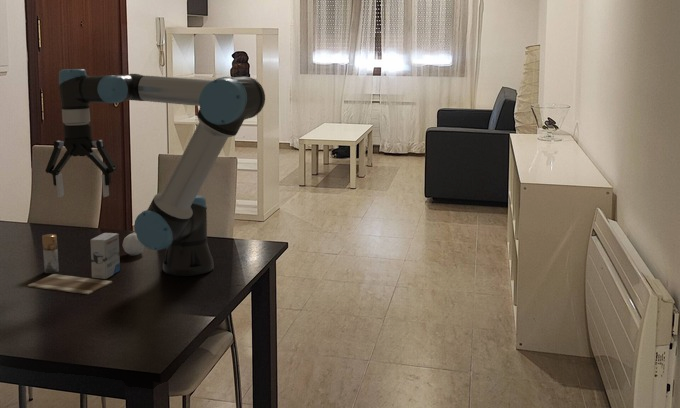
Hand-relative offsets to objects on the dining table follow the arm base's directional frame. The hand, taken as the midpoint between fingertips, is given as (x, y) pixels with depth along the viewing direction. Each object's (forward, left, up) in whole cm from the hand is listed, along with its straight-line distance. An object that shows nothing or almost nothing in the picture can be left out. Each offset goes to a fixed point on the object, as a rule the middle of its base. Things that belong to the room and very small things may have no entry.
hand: (83, 196), depth 216 cm
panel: (-2, +11, -23) cm, 26 cm away
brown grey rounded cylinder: (+11, +3, -23) cm, 26 cm away
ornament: (-2, -21, -23) cm, 32 cm away
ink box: (-6, 0, -23) cm, 24 cm away
